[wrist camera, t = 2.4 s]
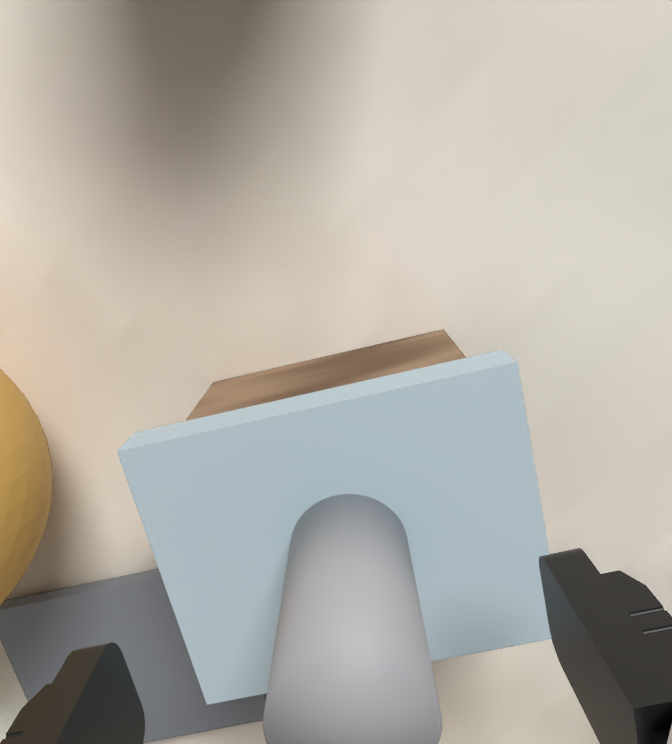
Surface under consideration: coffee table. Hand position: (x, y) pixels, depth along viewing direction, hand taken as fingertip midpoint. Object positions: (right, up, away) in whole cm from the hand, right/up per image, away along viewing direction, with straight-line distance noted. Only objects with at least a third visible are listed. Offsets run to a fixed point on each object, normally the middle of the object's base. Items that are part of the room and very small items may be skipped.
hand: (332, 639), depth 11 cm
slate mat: (-8, -6, +13) cm, 16 cm away
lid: (0, +1, +4) cm, 5 cm away
